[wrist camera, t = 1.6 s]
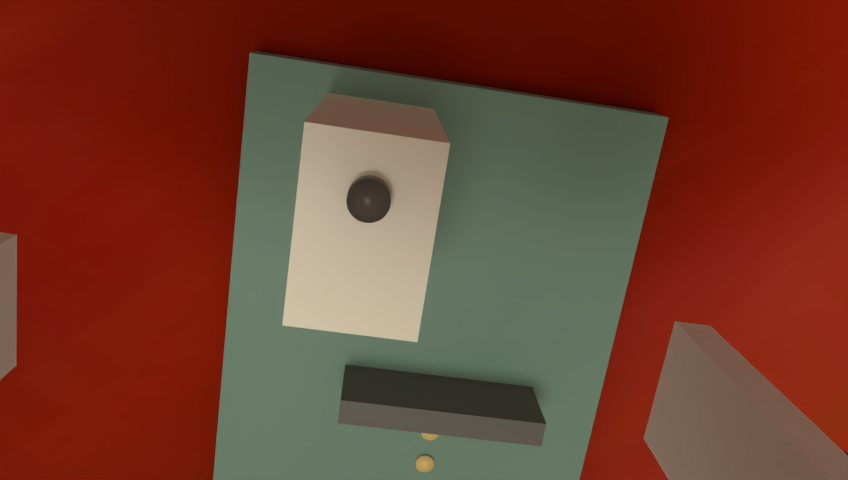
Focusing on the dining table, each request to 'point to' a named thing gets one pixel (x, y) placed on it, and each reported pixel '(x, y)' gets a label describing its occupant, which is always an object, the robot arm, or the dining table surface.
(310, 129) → the plug
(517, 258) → the board
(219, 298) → the dining table surface
